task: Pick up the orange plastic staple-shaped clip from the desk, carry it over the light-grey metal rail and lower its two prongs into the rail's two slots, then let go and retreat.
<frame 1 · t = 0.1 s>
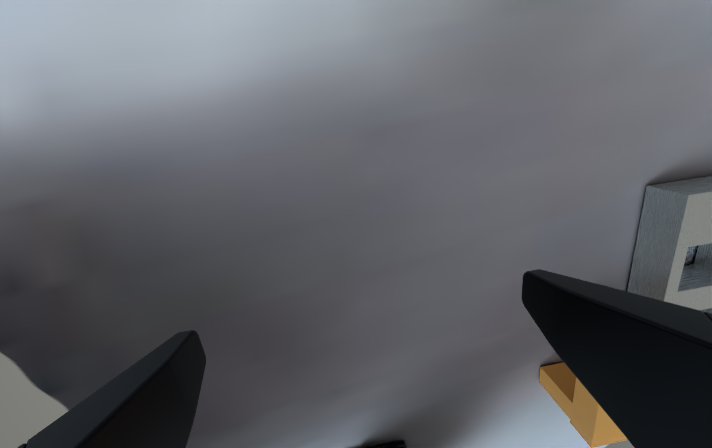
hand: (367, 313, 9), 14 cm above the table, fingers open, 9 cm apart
rail: (664, 280, 29), on the table
clip: (557, 345, 30), on the table
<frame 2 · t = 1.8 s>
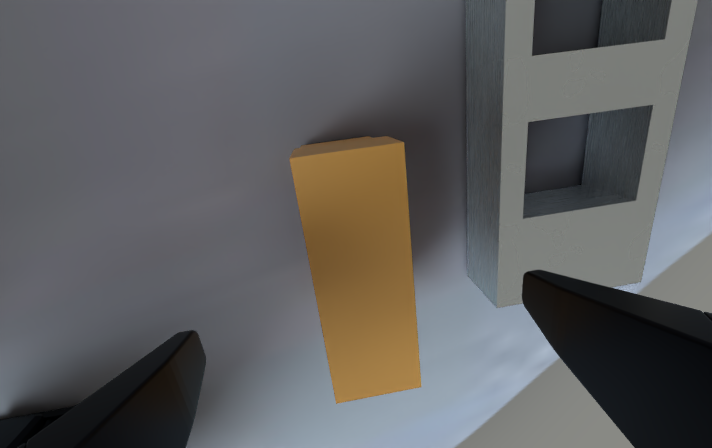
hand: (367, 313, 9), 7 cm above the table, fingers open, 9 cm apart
rail: (541, 86, 15), on the table
clip: (346, 223, 16), on the table
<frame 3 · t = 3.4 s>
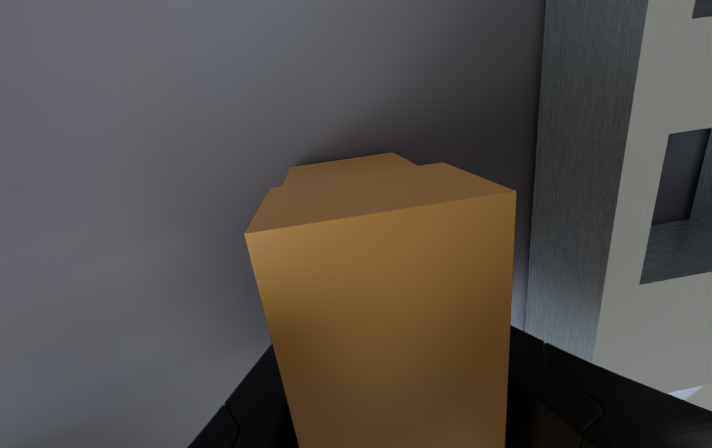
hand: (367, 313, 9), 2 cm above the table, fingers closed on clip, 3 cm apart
rail: (650, 78, 10), on the table
clip: (358, 277, 11), on the table, touching gripper
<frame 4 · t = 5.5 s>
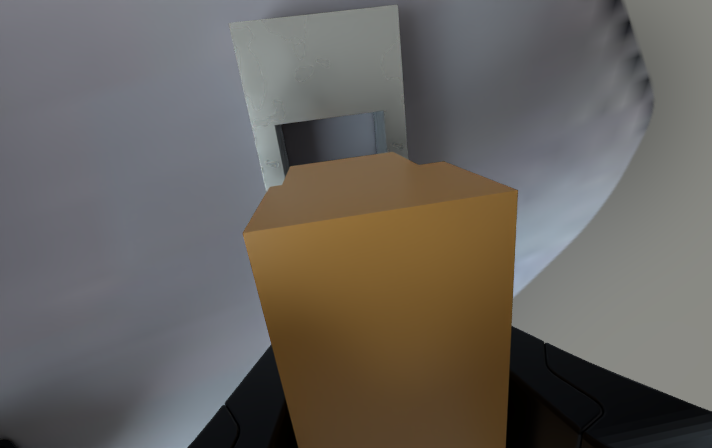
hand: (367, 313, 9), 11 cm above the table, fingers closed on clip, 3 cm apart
rail: (339, 203, 19), on the table
clip: (358, 277, 11), point 9 cm above the table, touching gripper
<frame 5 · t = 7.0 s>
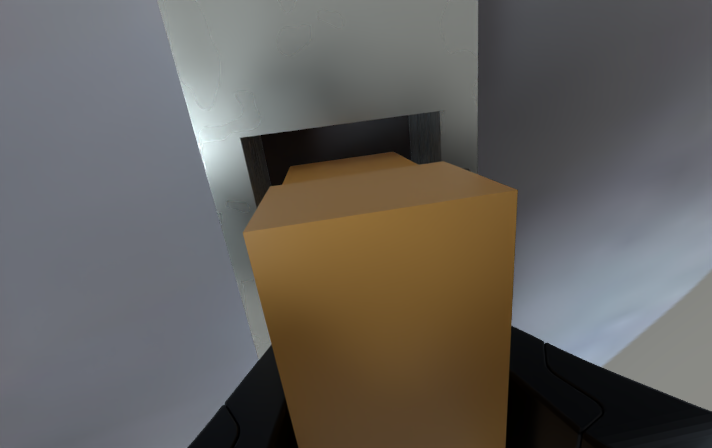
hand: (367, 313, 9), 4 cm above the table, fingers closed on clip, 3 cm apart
rail: (353, 253, 13), on the table
clip: (358, 277, 11), point 2 cm above the table, touching gripper
when the fingers open (4 cm above the table, at t = 7.9 s): clip drops 2 cm, on the table.
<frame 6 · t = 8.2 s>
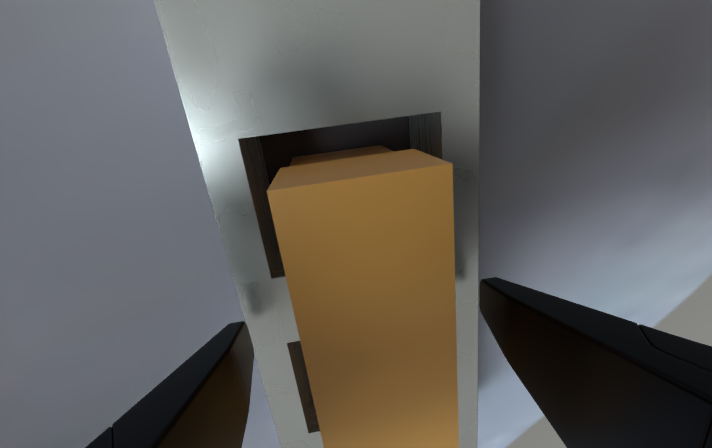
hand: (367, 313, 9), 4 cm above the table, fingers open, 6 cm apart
rail: (353, 255, 12), on the table
clip: (352, 254, 12), on the table
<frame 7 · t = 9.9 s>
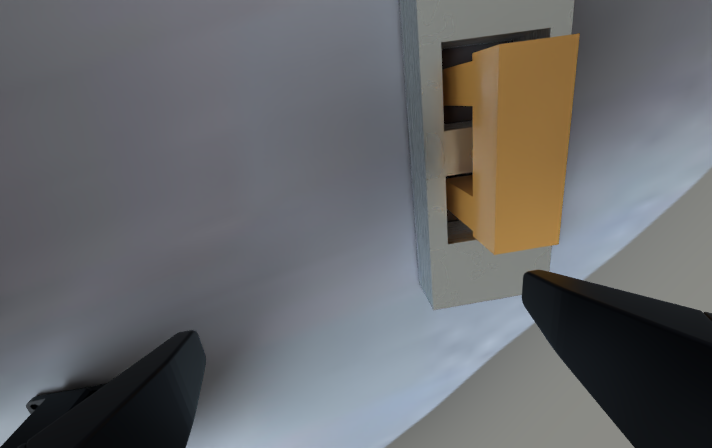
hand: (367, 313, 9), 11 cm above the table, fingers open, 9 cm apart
rail: (468, 140, 19), on the table
clip: (467, 140, 19), on the table
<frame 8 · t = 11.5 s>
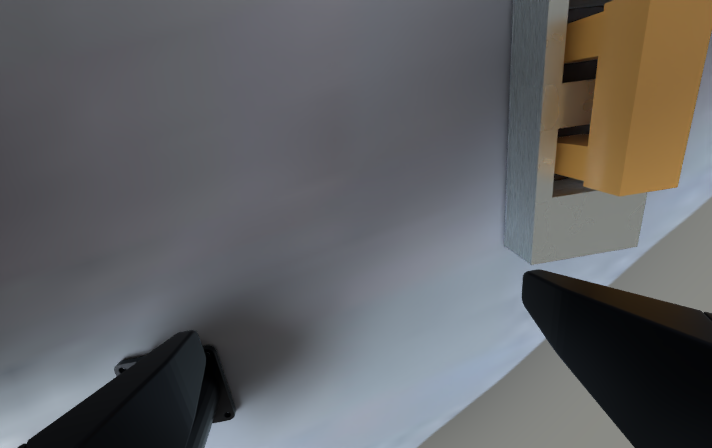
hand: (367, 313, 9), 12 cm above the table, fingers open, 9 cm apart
rail: (563, 101, 20), on the table
clip: (562, 101, 20), on the table
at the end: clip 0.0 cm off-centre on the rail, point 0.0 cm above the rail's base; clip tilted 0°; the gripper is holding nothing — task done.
